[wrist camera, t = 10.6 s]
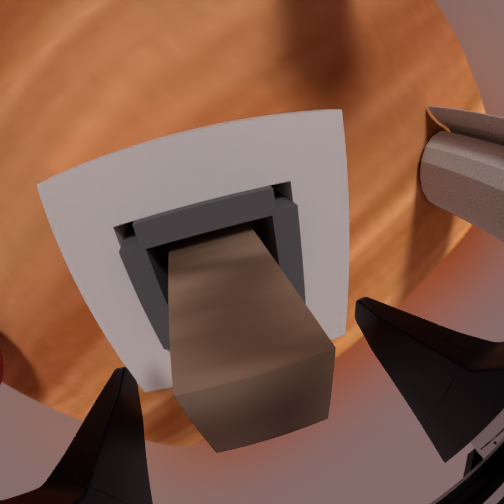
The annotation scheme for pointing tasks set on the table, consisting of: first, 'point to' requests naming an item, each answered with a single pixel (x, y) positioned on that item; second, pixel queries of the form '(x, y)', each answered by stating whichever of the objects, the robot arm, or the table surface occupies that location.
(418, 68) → the table surface
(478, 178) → the paper towel roll
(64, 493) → the robot arm
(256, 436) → the walnut peg
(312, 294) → the collar block
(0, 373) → the onion
